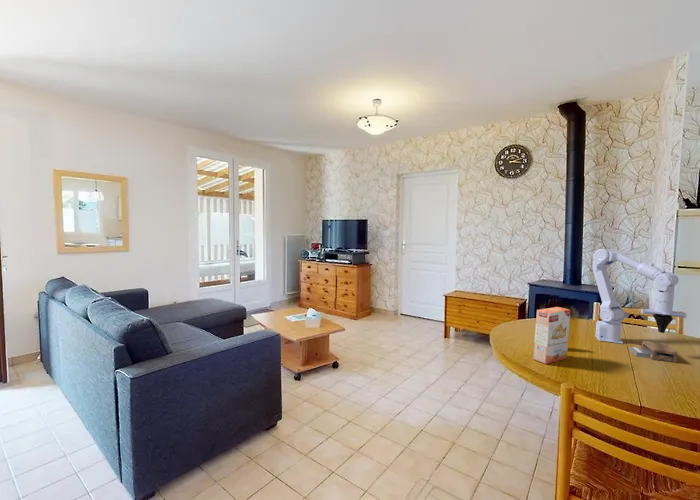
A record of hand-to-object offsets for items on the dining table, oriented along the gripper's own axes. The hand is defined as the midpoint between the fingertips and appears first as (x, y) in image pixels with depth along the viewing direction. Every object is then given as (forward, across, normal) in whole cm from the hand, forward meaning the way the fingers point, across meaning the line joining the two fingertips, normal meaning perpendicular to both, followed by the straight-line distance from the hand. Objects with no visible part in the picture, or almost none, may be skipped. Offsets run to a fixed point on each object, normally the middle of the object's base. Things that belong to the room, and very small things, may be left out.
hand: (661, 332), depth 147 cm
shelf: (+10, -1, -3) cm, 10 cm away
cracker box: (+10, -44, -27) cm, 52 cm away
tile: (+10, -4, -3) cm, 12 cm away
